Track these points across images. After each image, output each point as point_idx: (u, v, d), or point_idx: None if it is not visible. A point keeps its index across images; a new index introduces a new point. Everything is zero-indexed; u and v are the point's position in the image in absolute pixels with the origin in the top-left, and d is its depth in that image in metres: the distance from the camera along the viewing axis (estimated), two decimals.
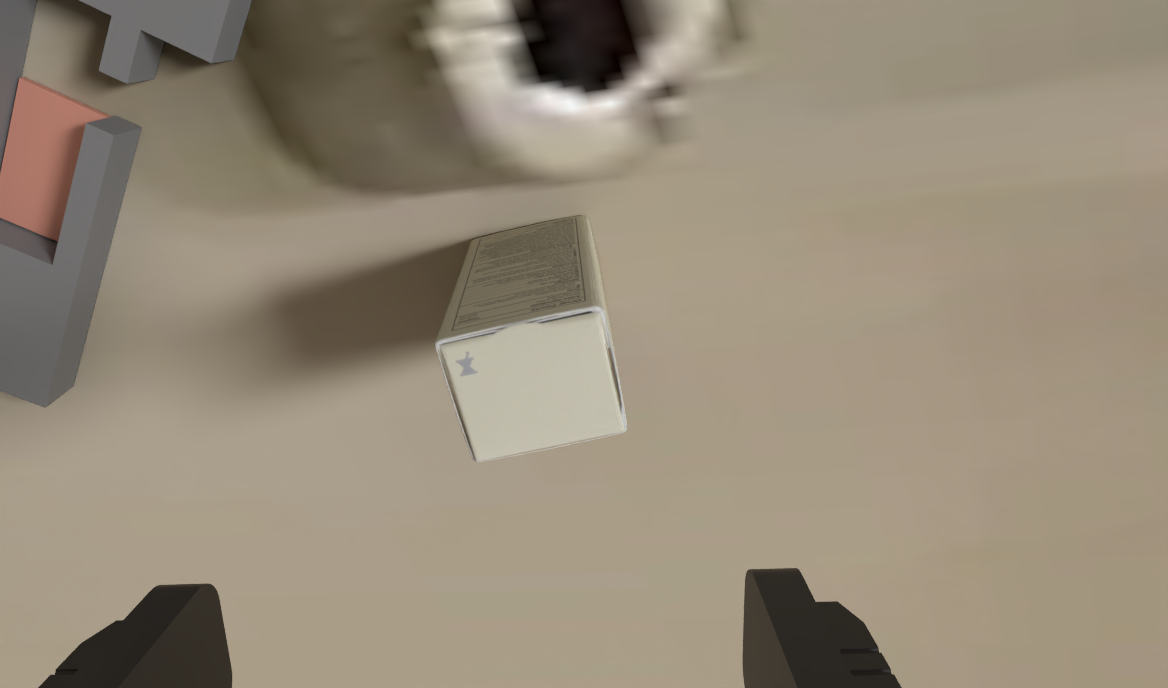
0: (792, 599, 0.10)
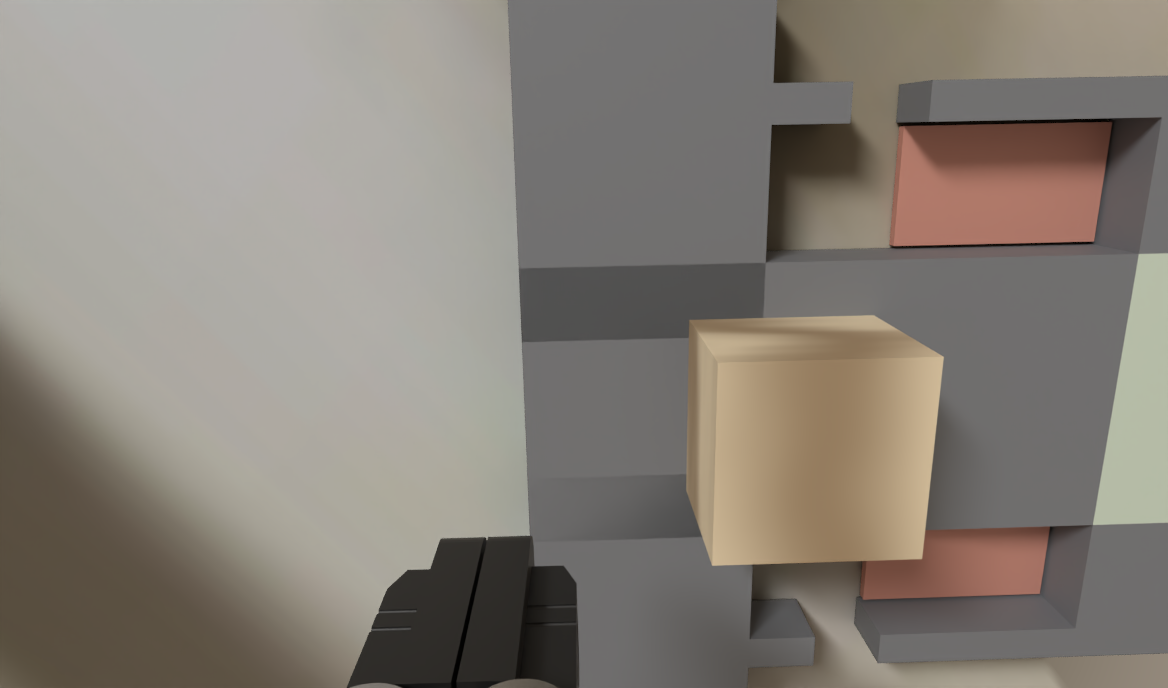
0: (509, 561, 0.12)
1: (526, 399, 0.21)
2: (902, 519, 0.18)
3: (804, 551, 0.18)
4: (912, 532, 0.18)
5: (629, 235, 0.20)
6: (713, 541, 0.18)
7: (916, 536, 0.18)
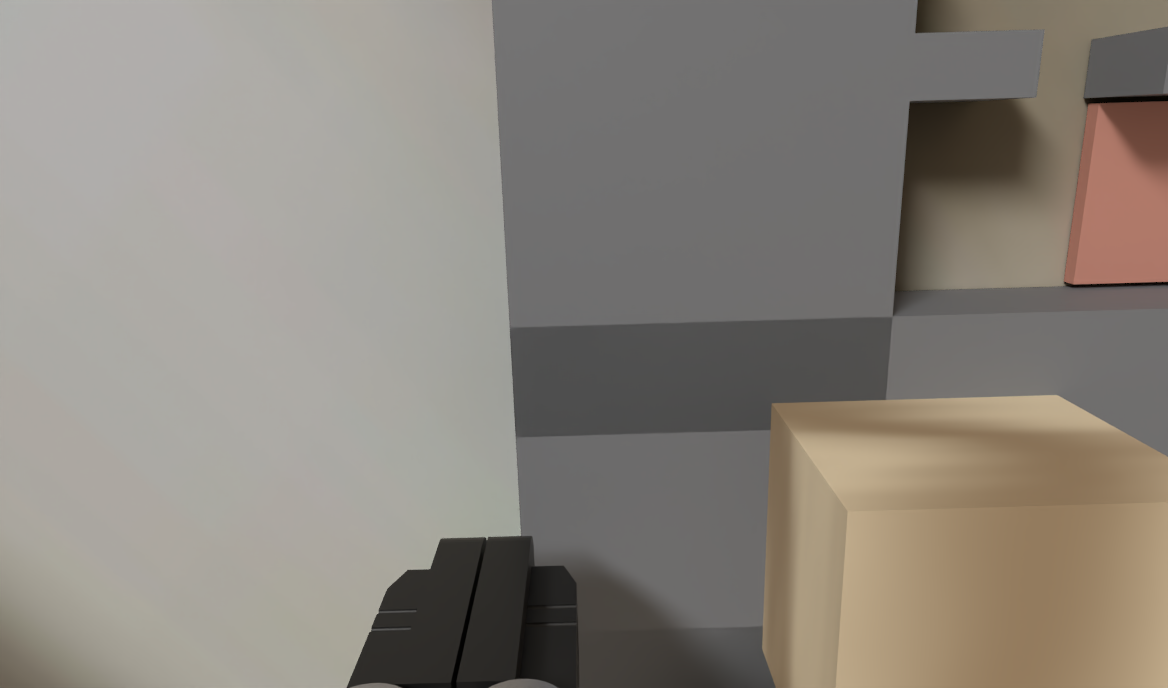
0: (509, 561, 0.12)
1: (523, 520, 0.14)
2: None
3: None
4: None
5: (681, 276, 0.13)
6: None
7: None
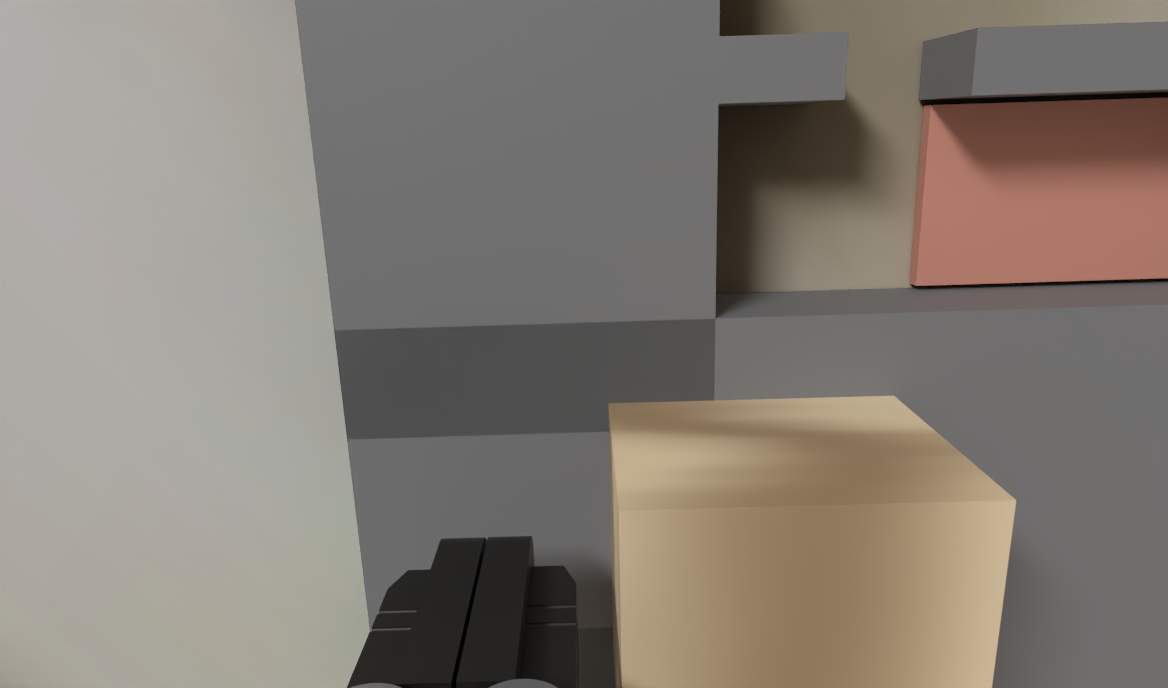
0: (508, 561, 0.12)
1: (360, 522, 0.14)
2: None
3: None
4: None
5: (502, 279, 0.13)
6: None
7: None
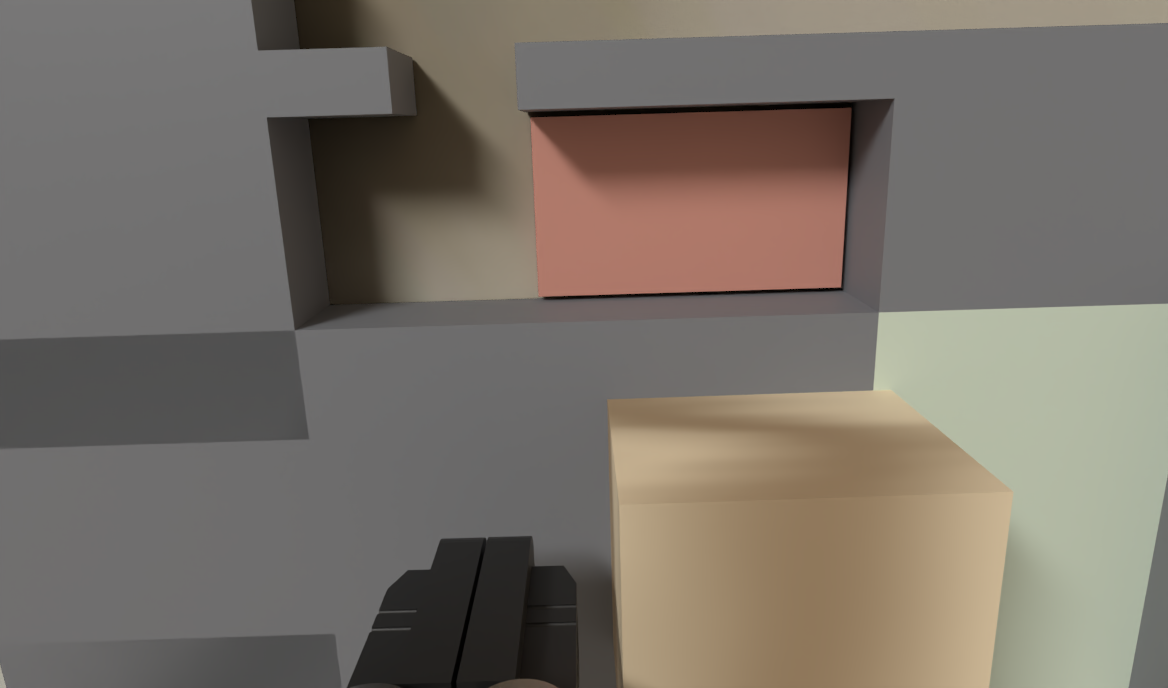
0: (509, 561, 0.12)
1: None
2: None
3: None
4: None
5: (75, 291, 0.13)
6: None
7: None
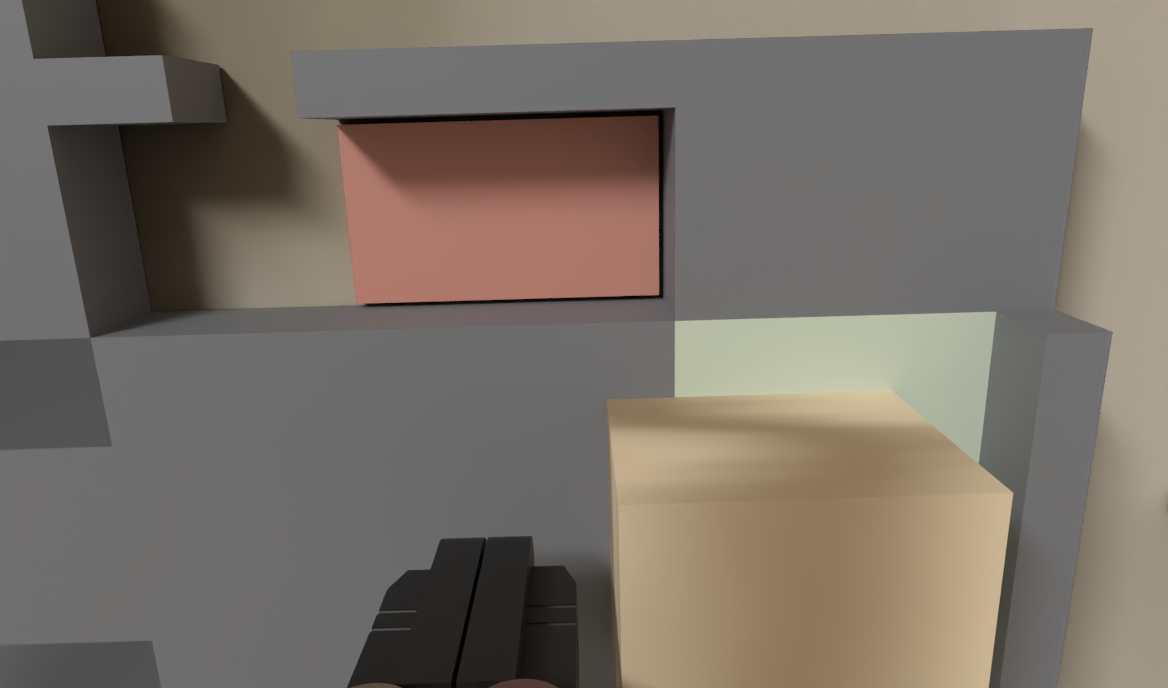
0: (509, 561, 0.12)
1: None
2: None
3: None
4: None
5: None
6: None
7: None
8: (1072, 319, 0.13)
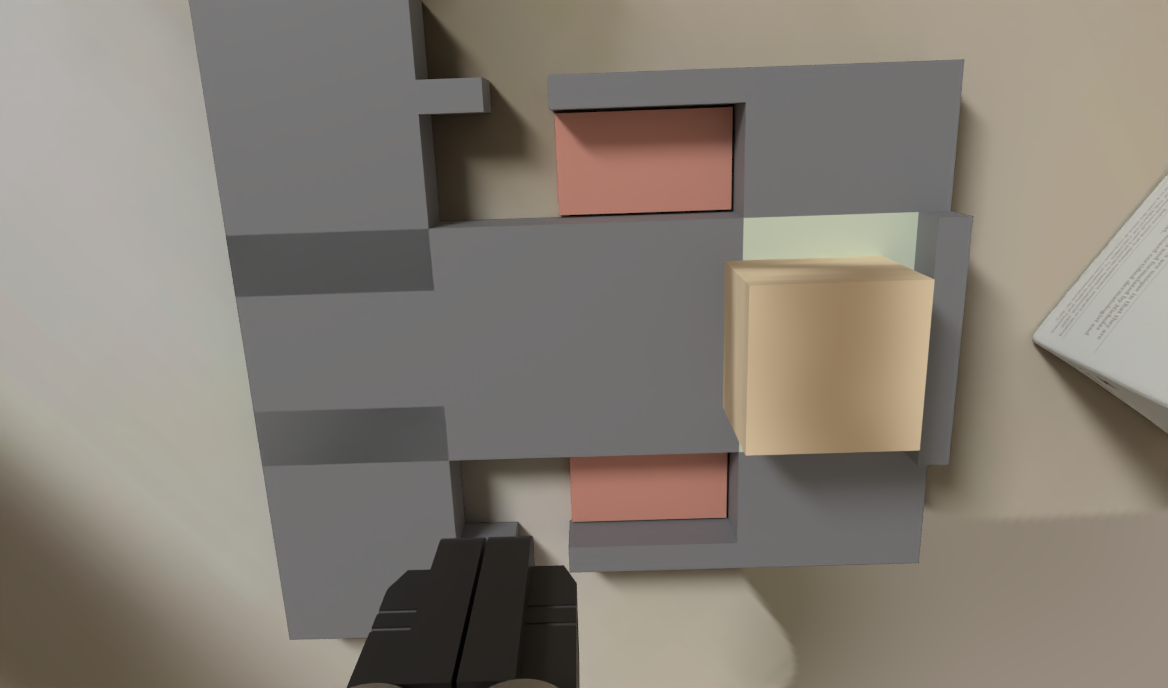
0: (509, 561, 0.12)
1: (245, 345, 0.26)
2: (902, 416, 0.22)
3: (821, 443, 0.23)
4: (910, 427, 0.22)
5: (313, 207, 0.25)
6: (746, 435, 0.22)
7: (914, 431, 0.22)
8: (956, 213, 0.24)
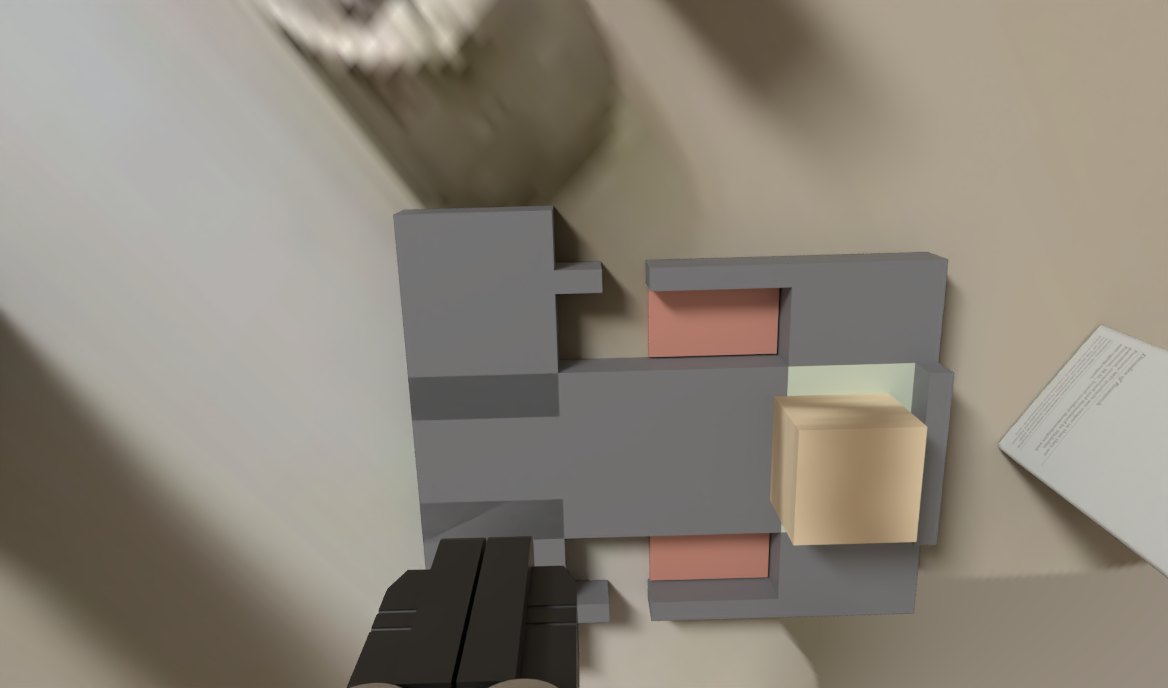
0: (509, 561, 0.12)
1: (416, 454, 0.35)
2: (904, 518, 0.32)
3: (847, 537, 0.32)
4: (910, 526, 0.32)
5: (474, 358, 0.34)
6: (794, 531, 0.32)
7: (912, 528, 0.32)
8: (942, 367, 0.33)
